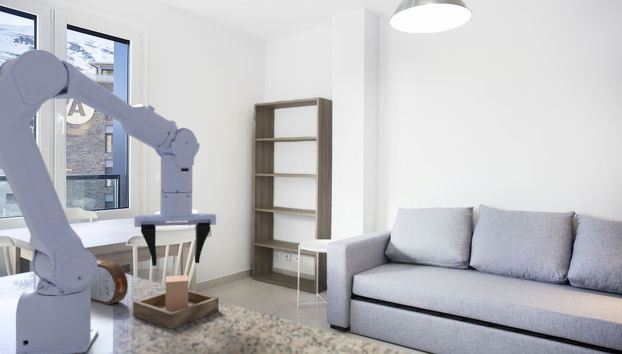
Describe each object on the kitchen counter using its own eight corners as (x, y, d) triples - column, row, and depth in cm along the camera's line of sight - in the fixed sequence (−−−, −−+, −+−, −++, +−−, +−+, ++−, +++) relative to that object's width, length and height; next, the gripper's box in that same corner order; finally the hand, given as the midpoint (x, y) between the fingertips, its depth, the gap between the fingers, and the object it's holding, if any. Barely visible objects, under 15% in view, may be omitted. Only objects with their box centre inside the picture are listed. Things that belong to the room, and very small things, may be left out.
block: (165, 314, 77) (165, 282, 77) (165, 307, 81) (165, 276, 81) (188, 312, 79) (188, 280, 78) (187, 305, 82) (187, 275, 82)
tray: (171, 328, 72) (171, 314, 72) (133, 315, 79) (133, 301, 78) (218, 310, 82) (218, 297, 82) (180, 299, 88) (181, 287, 88)
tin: (129, 304, 84) (129, 262, 84) (115, 309, 82) (115, 266, 81) (83, 292, 92) (83, 253, 91) (69, 296, 89) (69, 256, 89)
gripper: (133, 193, 73) (133, 271, 74) (218, 193, 78) (217, 265, 79) (135, 190, 80) (135, 262, 80) (213, 190, 85) (213, 257, 85)
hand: (176, 263), depth 80 cm, fingers open, 7 cm apart
